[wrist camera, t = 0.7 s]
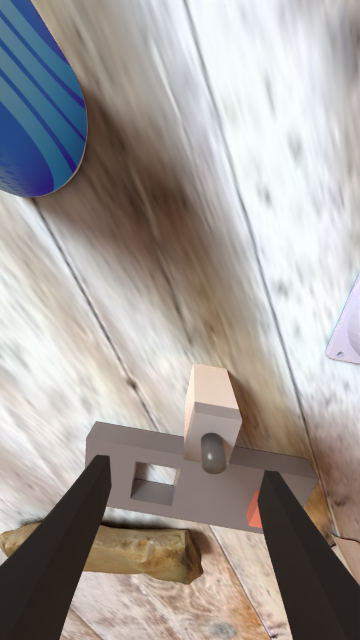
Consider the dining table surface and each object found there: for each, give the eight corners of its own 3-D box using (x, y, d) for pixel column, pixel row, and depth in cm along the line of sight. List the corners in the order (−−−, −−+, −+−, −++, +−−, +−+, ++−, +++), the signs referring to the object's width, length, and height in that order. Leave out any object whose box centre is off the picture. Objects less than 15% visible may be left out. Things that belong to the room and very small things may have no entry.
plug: (226, 369, 18) (249, 443, 11) (216, 405, 20) (231, 493, 12) (193, 363, 18) (195, 434, 11) (185, 399, 20) (182, 484, 12)
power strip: (307, 459, 21) (325, 491, 18) (279, 515, 24) (291, 551, 21) (95, 421, 21) (80, 447, 18) (92, 482, 24) (78, 513, 21)
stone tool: (201, 512, 24) (0, 504, 25) (203, 566, 20) (-32, 551, 22) (202, 553, 28) (34, 544, 30) (204, 602, 25) (12, 588, 27)
